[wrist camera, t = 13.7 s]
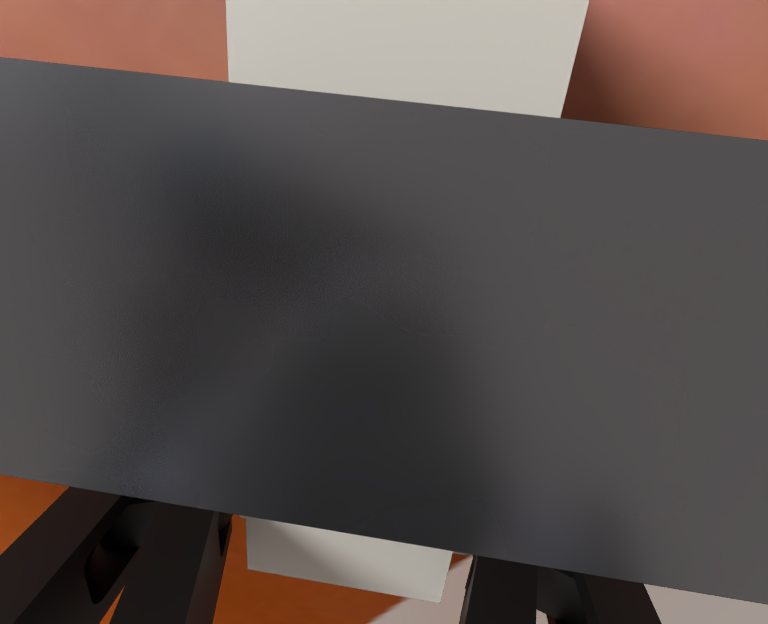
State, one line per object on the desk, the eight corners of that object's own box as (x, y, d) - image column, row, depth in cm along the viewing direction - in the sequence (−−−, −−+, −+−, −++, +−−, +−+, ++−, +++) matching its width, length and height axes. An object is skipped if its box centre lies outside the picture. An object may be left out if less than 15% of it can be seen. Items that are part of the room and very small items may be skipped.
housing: (211, 220, 16) (-324, 419, 5) (204, 106, 15) (-617, -10, 3) (592, 269, 15) (1063, 655, 4) (628, 153, 14) (1588, 229, 2)
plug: (322, 423, 19) (249, 617, 12) (351, -72, 12) (208, -430, 4) (430, 440, 19) (428, 650, 11) (523, -57, 12) (691, -410, 4)
